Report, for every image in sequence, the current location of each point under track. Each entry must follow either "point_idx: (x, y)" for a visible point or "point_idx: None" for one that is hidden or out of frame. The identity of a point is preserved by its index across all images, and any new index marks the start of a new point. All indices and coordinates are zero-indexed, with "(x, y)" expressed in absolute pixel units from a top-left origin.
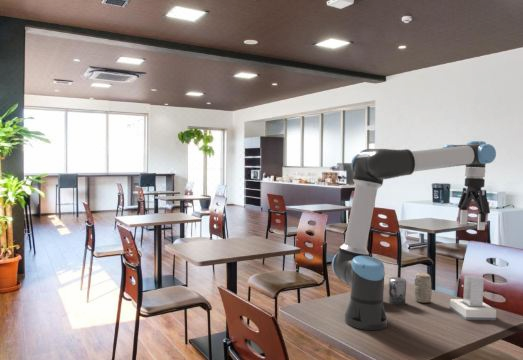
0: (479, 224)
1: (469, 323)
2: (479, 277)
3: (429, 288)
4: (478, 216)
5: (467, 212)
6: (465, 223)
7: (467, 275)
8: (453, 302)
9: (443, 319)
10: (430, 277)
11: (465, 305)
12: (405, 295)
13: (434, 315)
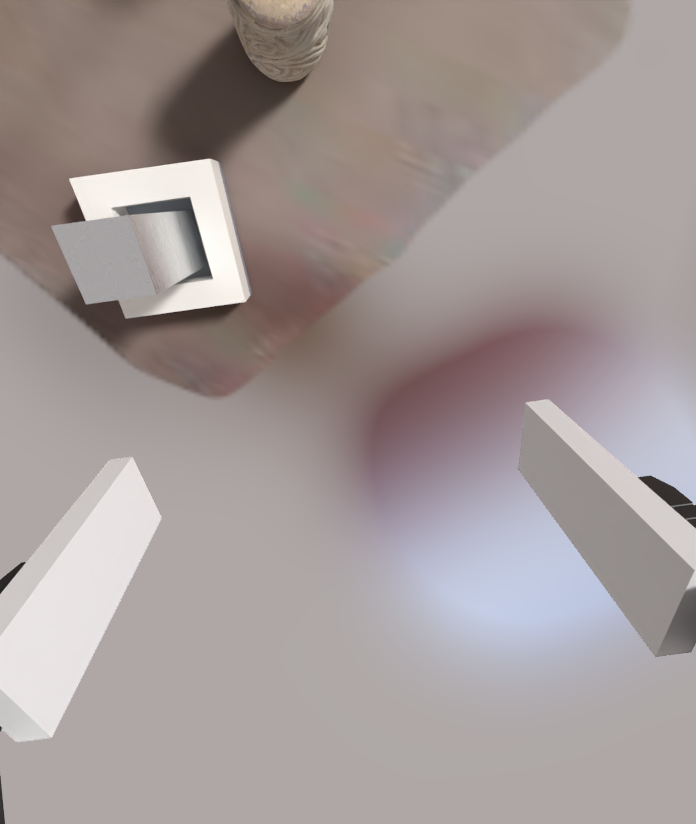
0: (74, 516)
1: (55, 181)
2: (110, 291)
3: (237, 30)
4: (6, 615)
5: (625, 613)
6: (528, 464)
7: (127, 232)
8: (180, 163)
9: (50, 61)
10: (257, 22)
11: (133, 202)
12: None
13: (89, 28)
